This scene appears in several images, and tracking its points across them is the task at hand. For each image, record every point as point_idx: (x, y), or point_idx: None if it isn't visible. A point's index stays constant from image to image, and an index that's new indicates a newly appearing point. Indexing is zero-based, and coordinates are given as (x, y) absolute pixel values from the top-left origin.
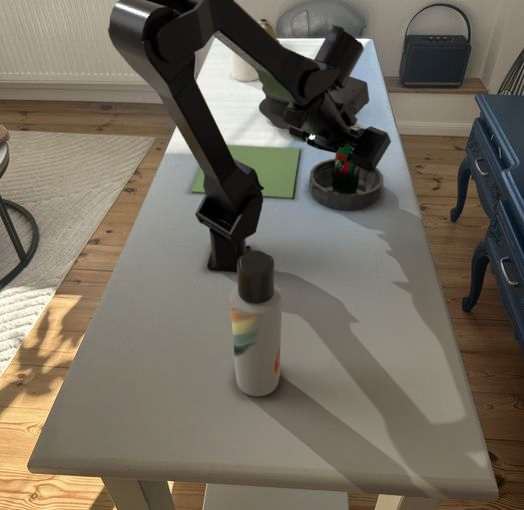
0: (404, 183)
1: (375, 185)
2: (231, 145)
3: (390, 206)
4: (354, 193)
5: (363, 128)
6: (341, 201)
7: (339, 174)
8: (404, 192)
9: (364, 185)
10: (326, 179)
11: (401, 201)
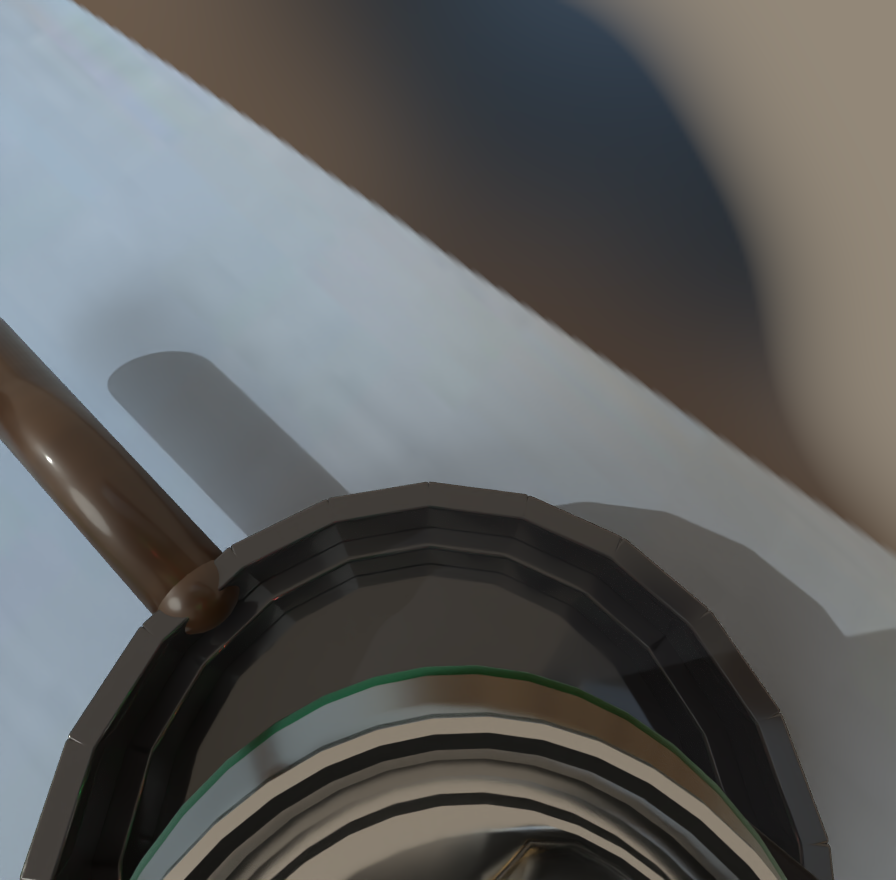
0: (606, 376)
1: (587, 606)
2: None
3: (811, 676)
4: None
5: (637, 798)
6: None
7: None
8: (697, 456)
9: (483, 631)
10: None
11: (786, 557)
